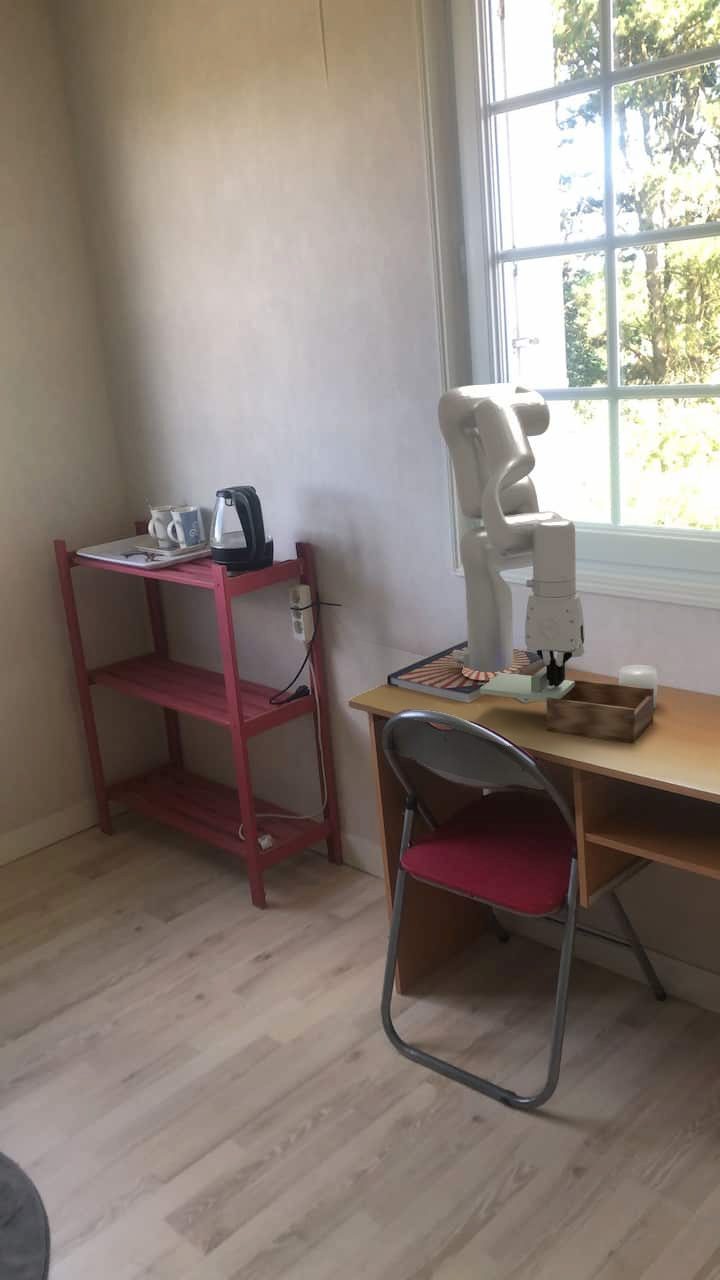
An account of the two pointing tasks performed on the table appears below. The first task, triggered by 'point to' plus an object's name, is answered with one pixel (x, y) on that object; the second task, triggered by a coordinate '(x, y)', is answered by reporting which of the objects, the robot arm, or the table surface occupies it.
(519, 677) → the lid
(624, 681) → the white round canister
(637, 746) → the table surface
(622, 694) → the walnut box
